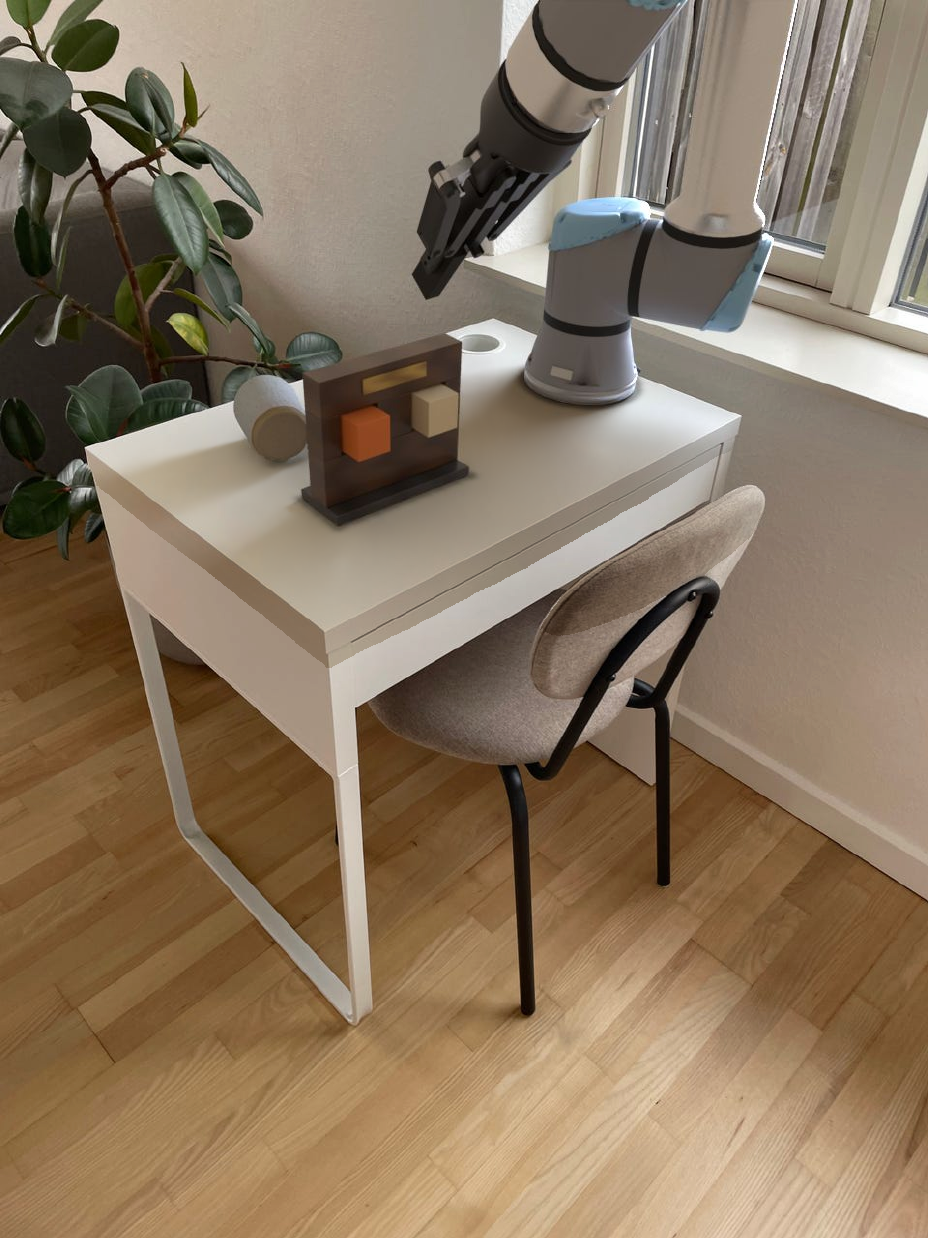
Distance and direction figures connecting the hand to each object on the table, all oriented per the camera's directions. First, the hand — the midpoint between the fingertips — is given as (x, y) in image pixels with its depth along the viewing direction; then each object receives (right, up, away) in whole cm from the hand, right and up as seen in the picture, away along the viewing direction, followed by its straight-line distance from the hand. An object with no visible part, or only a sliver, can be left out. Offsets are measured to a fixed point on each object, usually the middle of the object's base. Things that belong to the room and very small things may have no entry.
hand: (425, 284), depth 84 cm
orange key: (-7, -13, +12) cm, 19 cm away
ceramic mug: (-18, -10, +26) cm, 33 cm away
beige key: (0, -9, +16) cm, 19 cm away
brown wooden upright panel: (-5, -16, +20) cm, 25 cm away
